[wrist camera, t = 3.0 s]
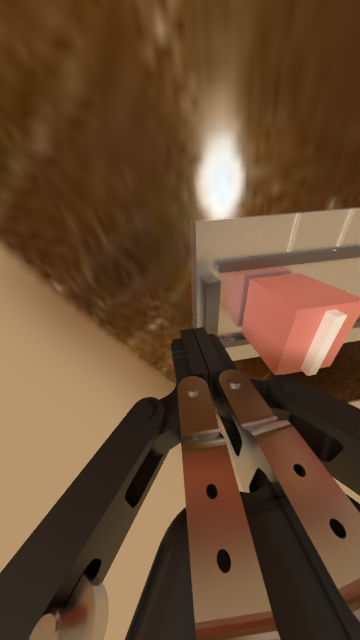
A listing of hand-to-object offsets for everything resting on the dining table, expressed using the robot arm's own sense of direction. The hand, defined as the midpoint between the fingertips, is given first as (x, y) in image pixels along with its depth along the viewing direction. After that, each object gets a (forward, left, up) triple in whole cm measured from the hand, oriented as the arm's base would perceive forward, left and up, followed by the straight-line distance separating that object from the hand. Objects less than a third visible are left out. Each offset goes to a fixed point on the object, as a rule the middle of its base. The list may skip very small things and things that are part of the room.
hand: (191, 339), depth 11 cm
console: (-14, 0, -6) cm, 15 cm away
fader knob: (-7, 0, -3) cm, 8 cm away
